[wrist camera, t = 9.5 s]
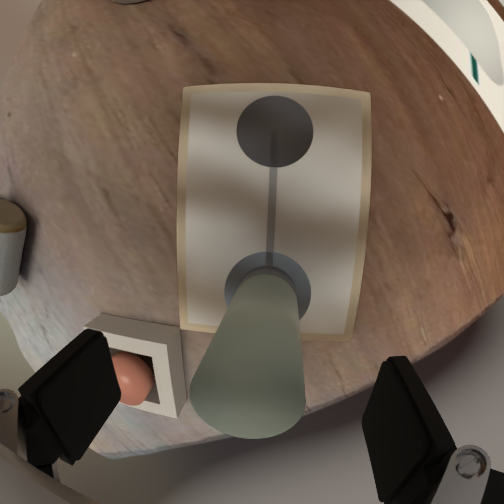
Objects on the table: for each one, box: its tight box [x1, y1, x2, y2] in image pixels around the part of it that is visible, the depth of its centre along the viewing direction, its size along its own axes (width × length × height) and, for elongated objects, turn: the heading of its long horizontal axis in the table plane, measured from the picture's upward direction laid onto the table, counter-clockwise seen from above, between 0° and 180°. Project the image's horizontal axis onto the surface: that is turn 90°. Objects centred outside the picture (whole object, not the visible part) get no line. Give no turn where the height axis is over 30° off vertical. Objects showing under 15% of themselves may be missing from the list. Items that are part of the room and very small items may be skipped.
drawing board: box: [177, 83, 372, 342], centre depth 19 cm, size 18×13×1 cm
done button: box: [111, 351, 154, 406], centre depth 20 cm, size 4×4×2 cm
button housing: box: [84, 314, 187, 418], centre depth 22 cm, size 8×8×3 cm
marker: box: [190, 266, 306, 439], centre depth 14 cm, size 4×4×11 cm
